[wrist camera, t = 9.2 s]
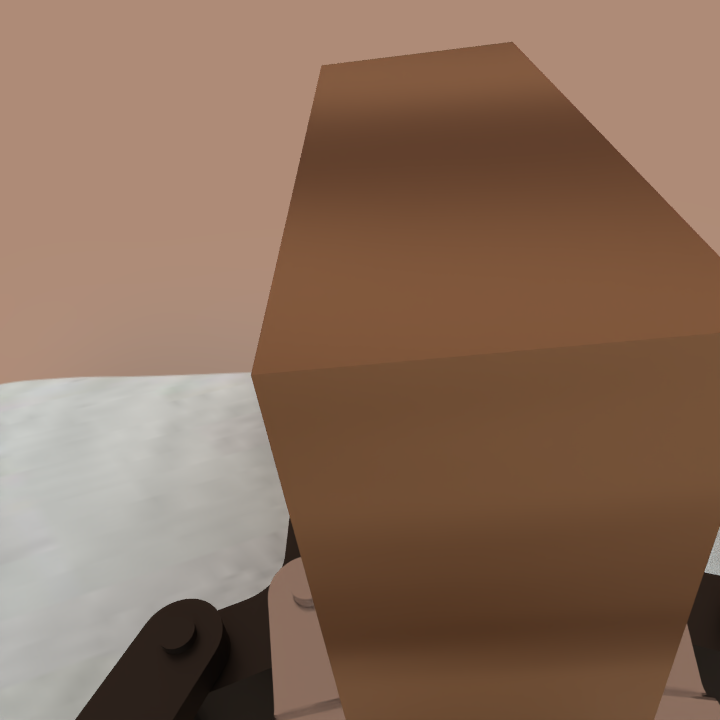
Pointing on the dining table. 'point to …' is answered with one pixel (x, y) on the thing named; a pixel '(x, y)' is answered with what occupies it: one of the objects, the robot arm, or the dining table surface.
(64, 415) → the dining table surface
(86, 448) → the dining table surface
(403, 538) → the board
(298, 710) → the robot arm
